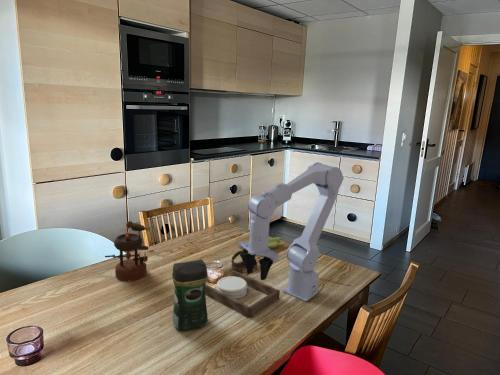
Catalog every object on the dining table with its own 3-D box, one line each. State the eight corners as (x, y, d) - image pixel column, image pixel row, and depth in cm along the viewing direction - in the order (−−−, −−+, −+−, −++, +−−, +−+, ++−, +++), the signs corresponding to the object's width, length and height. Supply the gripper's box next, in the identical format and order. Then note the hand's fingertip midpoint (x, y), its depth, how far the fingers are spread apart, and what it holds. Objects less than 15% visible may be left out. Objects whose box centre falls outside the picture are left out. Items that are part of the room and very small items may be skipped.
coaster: (219, 301, 115) (220, 291, 114) (214, 286, 124) (214, 276, 123) (250, 298, 118) (250, 288, 117) (242, 283, 127) (243, 274, 126)
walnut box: (279, 298, 118) (279, 290, 117) (249, 318, 107) (250, 309, 106) (233, 277, 130) (234, 270, 129) (202, 293, 119) (203, 285, 118)
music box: (148, 264, 137) (148, 215, 131) (153, 280, 128) (153, 228, 121) (105, 270, 131) (102, 219, 125) (106, 287, 121) (104, 232, 115)
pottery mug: (261, 275, 134) (252, 260, 130) (237, 284, 135) (228, 269, 131) (257, 254, 145) (249, 239, 141) (235, 263, 146) (227, 248, 142)
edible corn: (241, 241, 153) (247, 241, 149) (279, 235, 164) (286, 235, 160) (242, 253, 153) (248, 254, 149) (280, 246, 164) (286, 247, 160)
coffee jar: (201, 311, 109) (202, 254, 104) (210, 326, 102) (211, 266, 97) (169, 318, 105) (169, 259, 100) (176, 334, 98) (176, 271, 93)
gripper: (232, 231, 111) (230, 272, 114) (270, 245, 102) (267, 289, 105) (247, 226, 116) (245, 265, 119) (284, 238, 107) (281, 280, 110)
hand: (256, 276), depth 112 cm, fingers open, 5 cm apart
